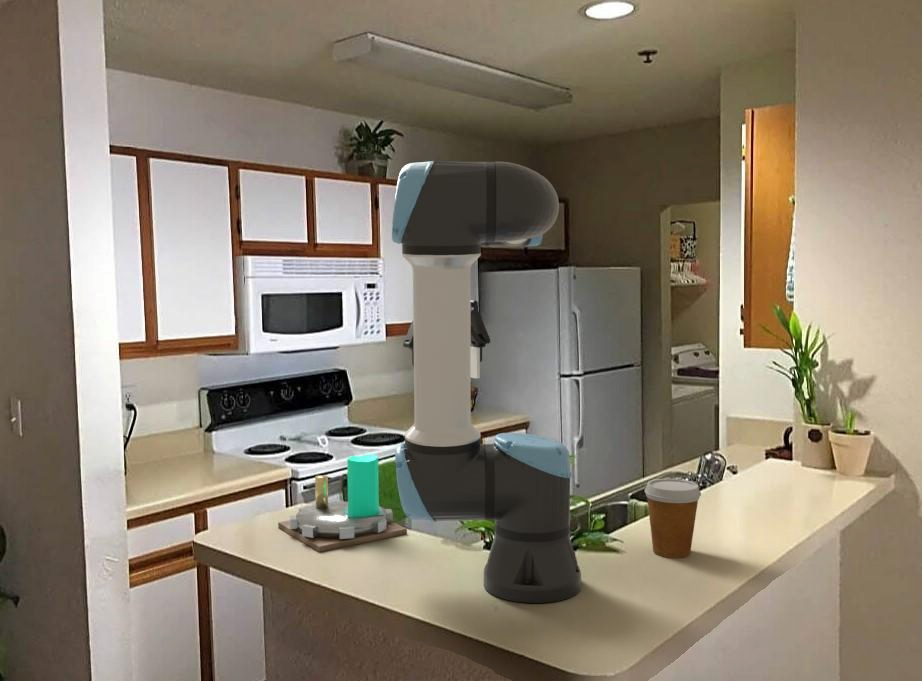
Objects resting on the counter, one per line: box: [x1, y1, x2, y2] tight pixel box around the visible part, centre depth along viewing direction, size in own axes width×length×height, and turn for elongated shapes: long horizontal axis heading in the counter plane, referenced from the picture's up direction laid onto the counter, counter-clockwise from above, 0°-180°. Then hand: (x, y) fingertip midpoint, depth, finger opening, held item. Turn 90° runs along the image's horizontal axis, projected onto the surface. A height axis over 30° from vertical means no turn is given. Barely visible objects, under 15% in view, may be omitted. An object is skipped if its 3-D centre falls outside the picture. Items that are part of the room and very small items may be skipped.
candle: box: [346, 449, 380, 516], centre depth 158 cm, size 6×6×12 cm
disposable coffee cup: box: [644, 478, 702, 559], centre depth 145 cm, size 10×10×12 cm
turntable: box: [289, 474, 394, 539], centre depth 158 cm, size 19×19×8 cm
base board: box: [277, 519, 408, 553], centre depth 158 cm, size 18×18×1 cm
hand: (448, 380), depth 173 cm, fingers open, 13 cm apart
